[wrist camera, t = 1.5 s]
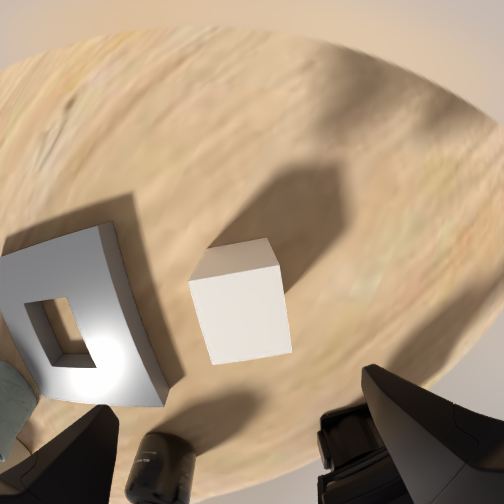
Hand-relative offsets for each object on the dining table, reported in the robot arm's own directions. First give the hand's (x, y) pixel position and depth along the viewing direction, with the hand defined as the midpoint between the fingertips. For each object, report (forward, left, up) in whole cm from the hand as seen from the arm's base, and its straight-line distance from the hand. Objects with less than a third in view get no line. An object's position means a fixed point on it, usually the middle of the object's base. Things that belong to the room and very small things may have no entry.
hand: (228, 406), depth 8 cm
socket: (+16, +2, -13) cm, 21 cm away
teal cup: (+34, +11, -13) cm, 38 cm away
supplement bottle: (+12, +20, -13) cm, 27 cm away
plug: (-1, 0, -13) cm, 13 cm away
